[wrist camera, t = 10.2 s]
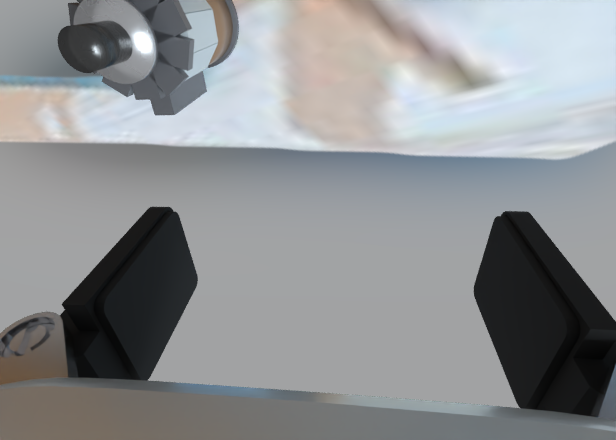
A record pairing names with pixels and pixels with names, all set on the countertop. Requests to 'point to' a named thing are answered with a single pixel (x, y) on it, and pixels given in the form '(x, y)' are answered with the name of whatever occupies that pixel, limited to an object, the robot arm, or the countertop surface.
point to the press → (181, 49)
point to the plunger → (110, 41)
